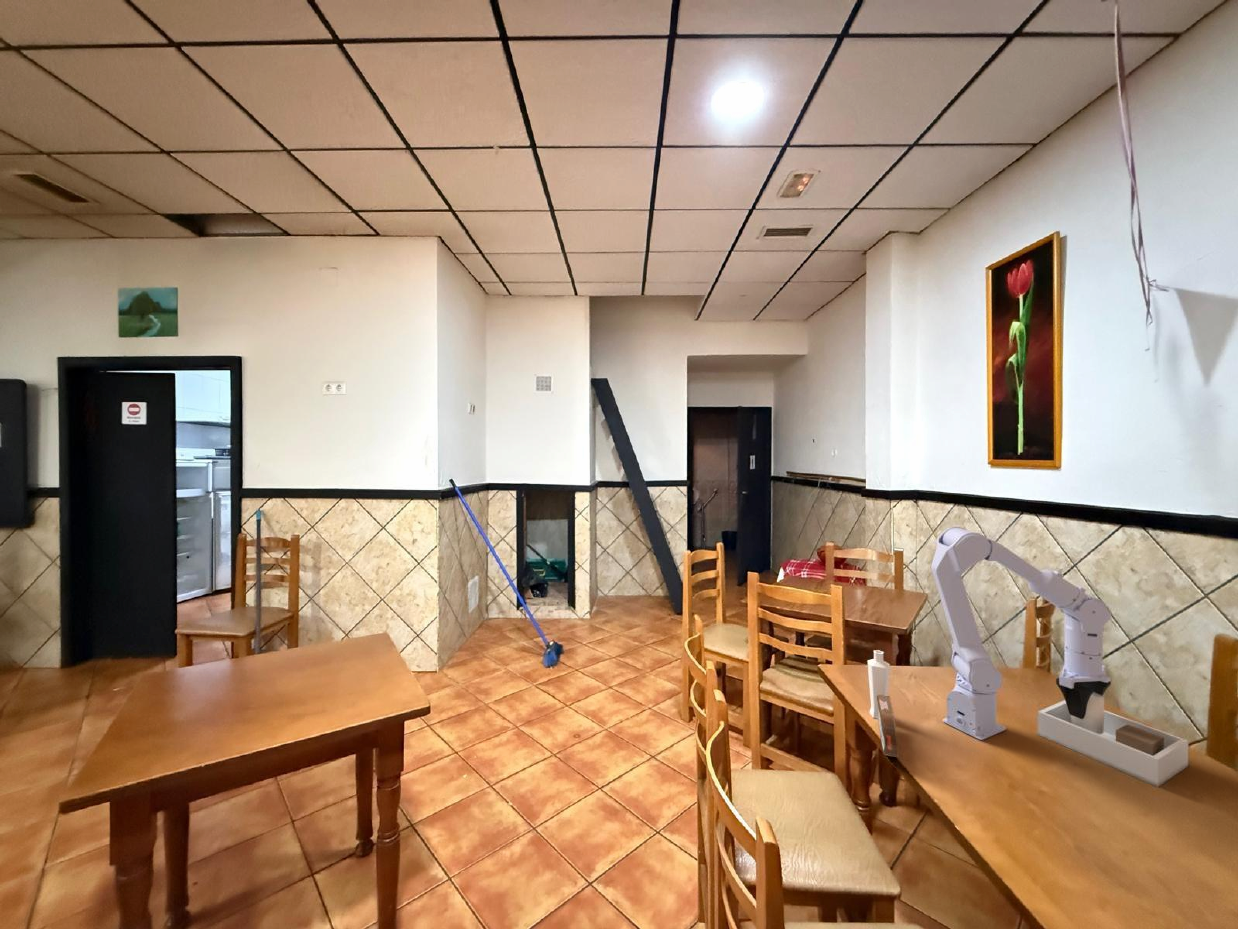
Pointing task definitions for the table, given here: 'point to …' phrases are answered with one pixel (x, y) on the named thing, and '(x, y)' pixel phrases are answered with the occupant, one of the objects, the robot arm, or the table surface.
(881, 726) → the tin
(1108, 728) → the tote
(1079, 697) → the robot arm
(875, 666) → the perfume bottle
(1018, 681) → the table surface
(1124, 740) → the walnut cube
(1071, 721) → the ceramic cylinder
